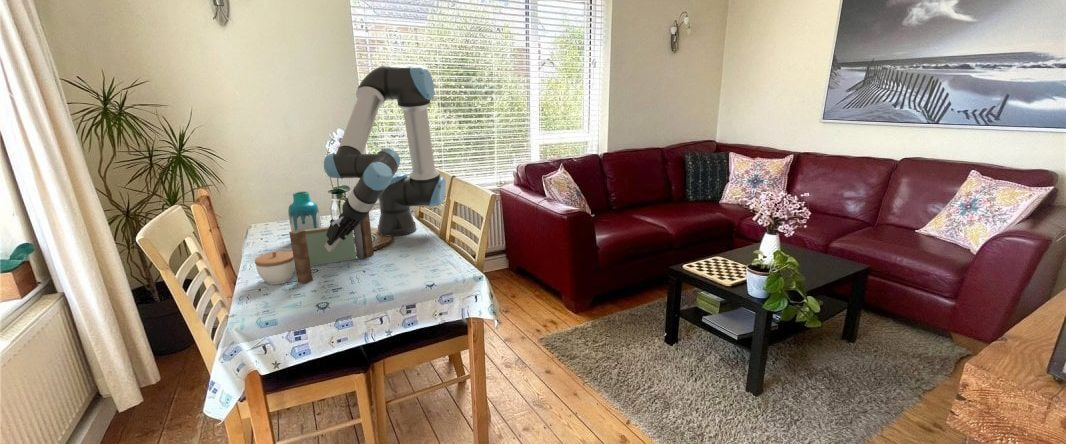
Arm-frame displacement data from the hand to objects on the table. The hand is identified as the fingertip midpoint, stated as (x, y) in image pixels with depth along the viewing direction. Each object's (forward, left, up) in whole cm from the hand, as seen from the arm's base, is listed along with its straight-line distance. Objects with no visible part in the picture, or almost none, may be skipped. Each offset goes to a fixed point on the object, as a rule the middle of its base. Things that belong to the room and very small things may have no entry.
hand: (328, 248), depth 152 cm
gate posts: (0, +4, -6) cm, 7 cm away
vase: (-14, -29, -6) cm, 33 cm away
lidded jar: (+16, -4, -6) cm, 18 cm away
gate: (-2, -2, -6) cm, 6 cm away
